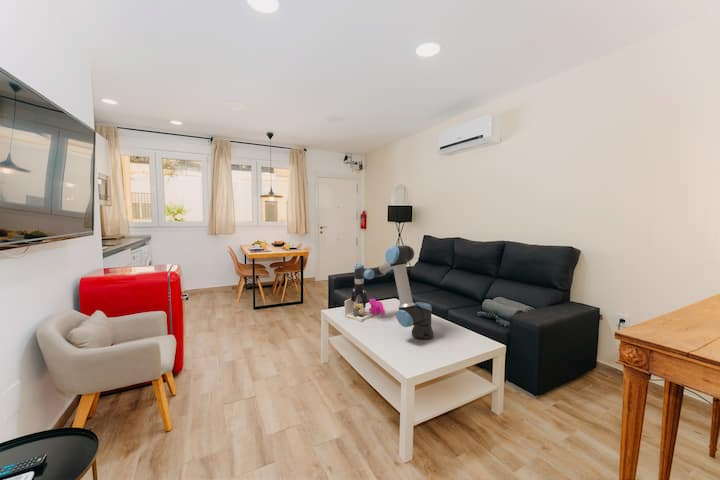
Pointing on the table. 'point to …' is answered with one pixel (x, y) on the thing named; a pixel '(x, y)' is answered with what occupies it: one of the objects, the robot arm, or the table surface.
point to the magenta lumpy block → (376, 307)
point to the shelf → (354, 312)
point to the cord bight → (358, 307)
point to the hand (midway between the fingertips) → (359, 310)
